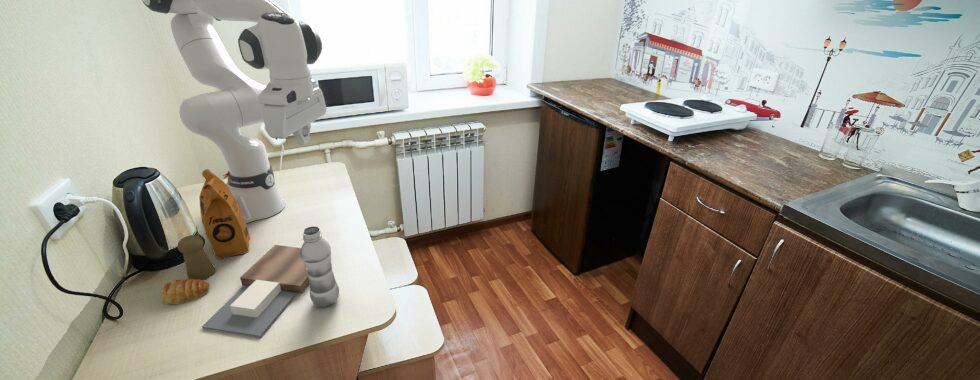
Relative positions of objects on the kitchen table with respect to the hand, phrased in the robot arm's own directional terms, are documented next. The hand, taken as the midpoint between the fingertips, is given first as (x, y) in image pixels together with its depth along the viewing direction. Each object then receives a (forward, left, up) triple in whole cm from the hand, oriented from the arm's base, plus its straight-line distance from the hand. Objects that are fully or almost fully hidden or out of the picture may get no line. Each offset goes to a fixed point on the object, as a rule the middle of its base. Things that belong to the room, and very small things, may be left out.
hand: (304, 142), depth 104 cm
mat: (-3, -27, -31) cm, 41 cm away
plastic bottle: (+12, -21, -31) cm, 40 cm away
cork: (-24, -18, -31) cm, 43 cm away
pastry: (-22, -25, -32) cm, 46 cm away
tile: (-3, -25, -30) cm, 39 cm away
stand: (-3, -13, -31) cm, 34 cm away
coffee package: (-25, -6, -31) cm, 40 cm away
